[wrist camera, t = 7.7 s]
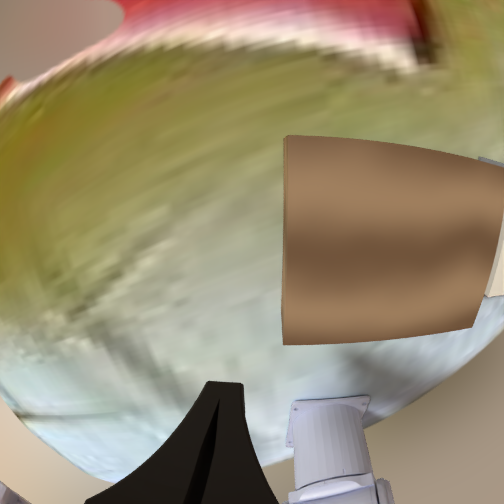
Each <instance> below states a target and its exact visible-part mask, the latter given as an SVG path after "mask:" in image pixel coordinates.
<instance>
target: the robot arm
mask: <svg viewBox="0 0 504 504" xmlns="http://www.w3.org/2000/svg"><path fill="white" fill-rule="evenodd" d="M369 401H370V397H369V396H358V397H348V398H338V399H325V400H307V401H294V402H293V403H292V405H291V412H290V419H289V426H288V433H287V439H286V447H294V465H295V491H294V492H289V501H285V502H283V503H282V504H395V503H394V498H393V494H392V490H391V486H390V482H389V481H387V480H384V479H383V478H380V479H377V480H376V479H375V477H374V475H373V470H372V466H371V461H370V457H369V452H368V448H367V443H366V439H365V435H364V431H363V427H362V423H361V419H362V417H363V415H364V413H365V411H366V408H367V406H368V404H369ZM376 481H377V482H376ZM0 504H31V503H30V502H28V501H27V500H25V499H24V498H23V497H21V496H20V495H19V494H17V493H16V492H14V491H12V490H11V489H10V488H9V487H7V486H6V485H5V484H4V483H2V482H1V481H0ZM84 504H279V503H278V501H277V499H276V497H275V496H274V494H273V492H272V490H271V488H270V486H269V484H268V482H267V480H266V478H265V476H264V473H263V471H262V469H261V466H260V464H259V461H258V459H257V456H256V453H255V451H254V448H253V445H252V441H251V438H250V435H249V431H248V427H247V422H246V418H245V401H244V385H243V384H241V383H233V382H217V381H208V382H206V384H205V386H204V388H203V390H202V391H201V393H200V395H199V397H198V398H197V400H196V401H195V403H194V405H193V406H192V408H191V409H190V411H189V412H188V413H187V415H186V416H185V418H184V419H183V420H182V422H181V423H180V424H179V426H178V427H177V428H176V429H175V431H174V432H173V433H172V434H171V436H170V437H169V438H168V439H167V440H166V441H165V442H164V444H163V445H162V446H161V447H160V448H159V449H158V450H157V451H156V452H155V453H154V454H153V455H152V456H151V457H150V458H149V459H147V460H146V461H145V462H144V463H143V464H142V465H141V466H139V467H138V468H137V469H136V470H134V471H133V472H132V473H131V474H129V475H128V476H126V477H125V478H123V479H122V480H120V481H119V482H117V483H116V484H115V485H113V486H111V487H110V488H108V489H106V490H104V491H102V492H101V493H99V494H97V495H95V496H93V497H91V498H89V499H87V500H86V501H85V503H84Z"/></svg>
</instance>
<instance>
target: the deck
mask: <svg viewBox="0 0 504 504" xmlns="http://www.w3.org/2000/svg"><path fill="white" fill-rule="evenodd" d="M503 213H504V167H501V166H497V165H494V164H490V163H487V162H483V161H479V160H476V159H472V158H468V157H463V156H459V155H455V154H450V153H446V152H441V151H436V150H431V149H425V148H420V147H414V146H407V145H401V144H394V143H387V142H379V141H370V140H361V139H350V138H338V137H322V136H299V135H288V136H286V137H285V138H284V220H283V269H282V300H281V317H282V335H283V345H319V344H340V343H356V342H369V341H381V340H391V339H400V338H408V337H416V336H424V335H431V334H437V333H444V332H450V331H456V330H461V329H467V328H472V326H473V324H474V321H475V319H476V316H477V313H478V311H479V308H480V305H481V302H482V299H483V296H484V293H485V290H486V287H487V284H488V281H489V277H490V274H491V270H492V266H493V263H494V259H495V254H496V250H497V246H498V241H499V236H500V231H501V226H502V220H503Z"/></svg>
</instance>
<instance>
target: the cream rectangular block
mask: <svg viewBox="0 0 504 504" xmlns="http://www.w3.org/2000/svg"><path fill="white" fill-rule="evenodd" d="M484 294H485V295H486V296H487V297H492V296H499V295H504V213H503V220H502V226H501V231H500V236H499V241H498V246H497V250H496V254H495V259H494V263H493V266H492V270H491V274H490V277H489V281H488V284H487V287H486V290H485V293H484Z"/></svg>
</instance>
